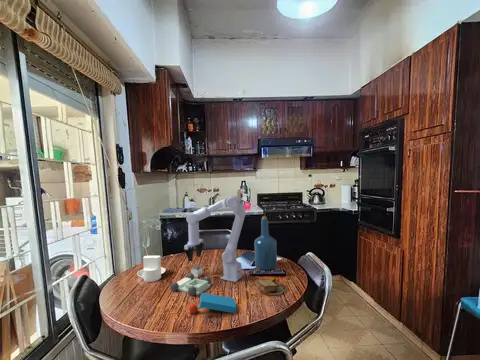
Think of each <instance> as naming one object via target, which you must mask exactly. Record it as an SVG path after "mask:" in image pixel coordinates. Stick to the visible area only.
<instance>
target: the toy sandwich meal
mask: <svg viewBox="0 0 480 360" xmlns="http://www.w3.org/2000/svg"><path fill="white" fill-rule="evenodd" d="M257 289H258V290H259V292H261V293H263V294H265V295H268V296H280V295H282V294H284V293H285V292H286V290H287V287H286V286H285V284H284V282H282V281H279V282H277V276H275V277H272V278H271V279H259V280H258V285H257ZM283 292H284V293H283Z"/></svg>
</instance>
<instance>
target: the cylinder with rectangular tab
mask: <svg viewBox="0 0 480 360" xmlns="http://www.w3.org/2000/svg"><path fill="white" fill-rule="evenodd" d="M142 260H143V262H142V263H143V280H144V281H145V282H147V283H153V282H156V281H159V280H160V279H161V278H162V266H161V265H162V261H161V255H144V256H143V258H142Z"/></svg>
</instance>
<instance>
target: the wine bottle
mask: <svg viewBox="0 0 480 360" xmlns="http://www.w3.org/2000/svg"><path fill="white" fill-rule="evenodd" d="M260 225H261V227H260V228H261V229H260V230H261V231H260V232H261V233H260V236H258V237H257V238H255V240H254V243H253V244H254V245H253V246H254V264H255V265H254V266H255V268H256V269H259V270H261V269H262V270H263V271H272V270H275V269H276V268H277V266H278V253H277V239H275V238H274V237H272V236H271V235H270V234H269V220H268V218H267V216H266V215H265V216H262V217H261V220H260Z"/></svg>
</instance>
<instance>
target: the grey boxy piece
mask: <svg viewBox="0 0 480 360" xmlns="http://www.w3.org/2000/svg"><path fill="white" fill-rule="evenodd" d="M190 273H192V274H193V275H194V278H199V277H200V276H202V275H203V267H201V266H200V265H196V264H195V265H193V266H192V267H191V268H190Z"/></svg>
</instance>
